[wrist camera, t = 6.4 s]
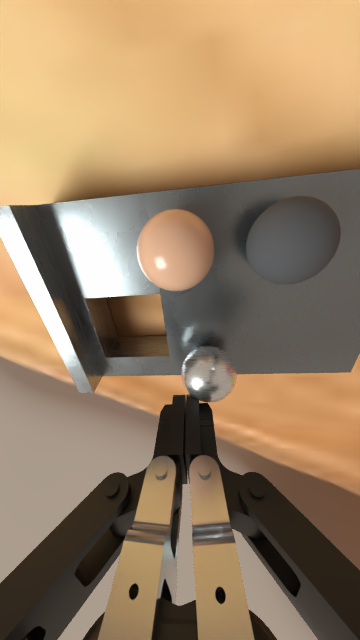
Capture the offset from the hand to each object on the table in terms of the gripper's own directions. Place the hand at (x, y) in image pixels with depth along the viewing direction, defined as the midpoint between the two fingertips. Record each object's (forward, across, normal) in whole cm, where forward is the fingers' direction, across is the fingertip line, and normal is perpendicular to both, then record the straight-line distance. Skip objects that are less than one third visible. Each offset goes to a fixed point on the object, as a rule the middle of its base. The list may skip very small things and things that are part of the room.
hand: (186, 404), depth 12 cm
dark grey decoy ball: (0, -5, -9) cm, 10 cm away
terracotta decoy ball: (0, 0, -9) cm, 9 cm away
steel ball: (0, -2, -2) cm, 3 cm away
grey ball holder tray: (+4, -2, -6) cm, 8 cm away
